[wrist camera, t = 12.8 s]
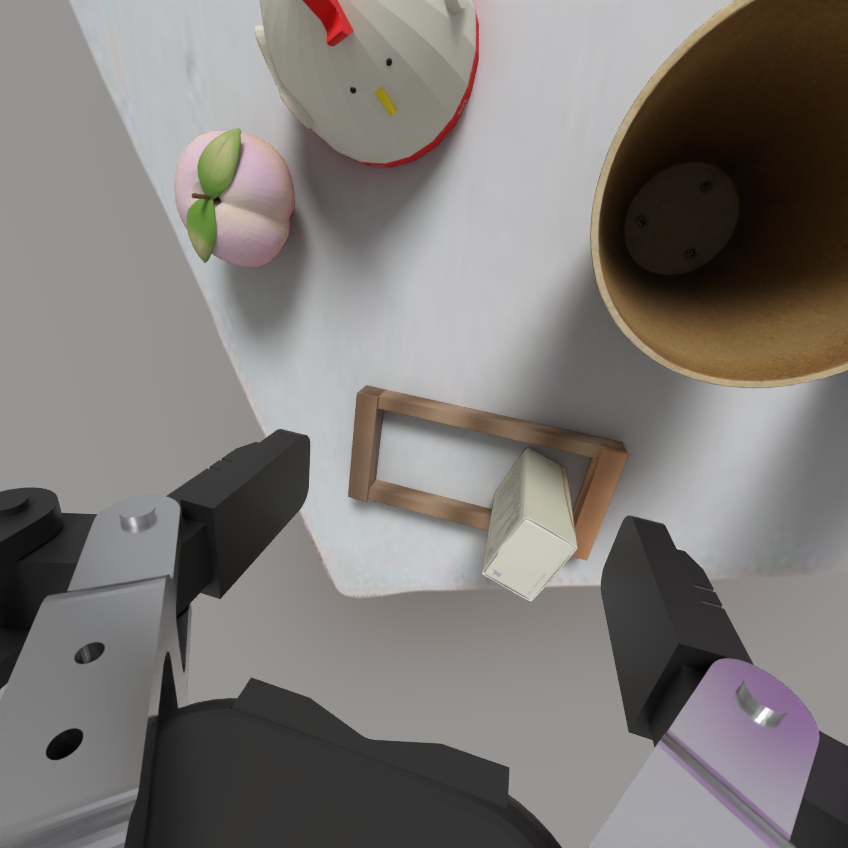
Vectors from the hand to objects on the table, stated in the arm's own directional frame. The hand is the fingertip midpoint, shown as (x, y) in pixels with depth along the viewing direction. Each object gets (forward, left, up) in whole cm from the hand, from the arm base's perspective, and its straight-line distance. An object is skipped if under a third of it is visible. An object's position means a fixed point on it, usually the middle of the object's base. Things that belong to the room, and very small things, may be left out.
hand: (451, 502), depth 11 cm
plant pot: (-10, -9, -28) cm, 31 cm away
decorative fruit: (+22, -6, -28) cm, 36 cm away
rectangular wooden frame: (0, +14, -28) cm, 31 cm away
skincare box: (-5, +14, -28) cm, 32 cm away
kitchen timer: (+13, -17, -28) cm, 36 cm away
